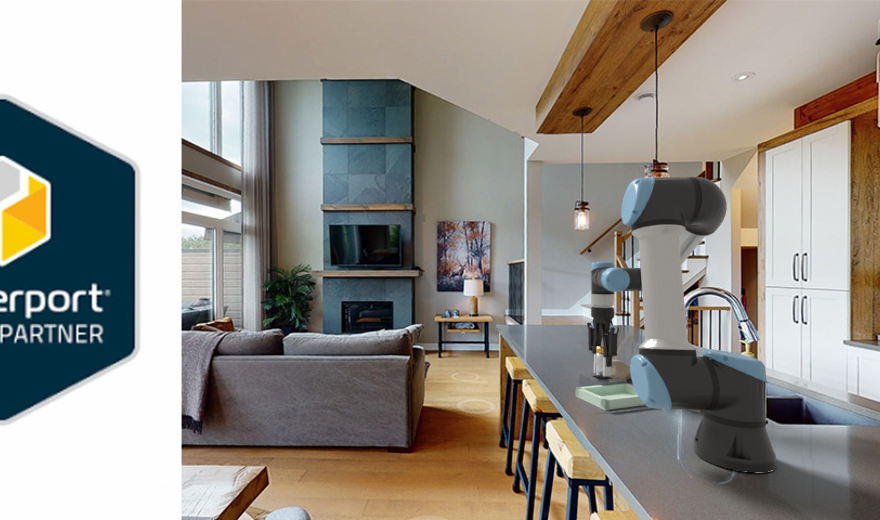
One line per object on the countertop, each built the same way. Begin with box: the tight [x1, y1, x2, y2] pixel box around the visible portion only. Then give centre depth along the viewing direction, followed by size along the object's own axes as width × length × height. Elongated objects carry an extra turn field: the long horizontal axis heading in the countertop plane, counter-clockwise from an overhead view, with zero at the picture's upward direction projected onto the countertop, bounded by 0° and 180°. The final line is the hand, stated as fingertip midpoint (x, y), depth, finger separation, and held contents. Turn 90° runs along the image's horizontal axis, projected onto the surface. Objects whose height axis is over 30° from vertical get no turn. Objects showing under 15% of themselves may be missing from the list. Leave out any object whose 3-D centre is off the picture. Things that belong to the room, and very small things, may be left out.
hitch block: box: [578, 372, 628, 387], centre depth 146 cm, size 12×10×4 cm
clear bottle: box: [596, 345, 609, 380], centre depth 146 cm, size 4×4×14 cm
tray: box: [575, 382, 646, 411], centre depth 133 cm, size 20×14×3 cm
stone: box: [611, 359, 632, 381], centre depth 157 cm, size 10×7×10 cm
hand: (602, 374), depth 146 cm, fingers closed on clear bottle, 4 cm apart
